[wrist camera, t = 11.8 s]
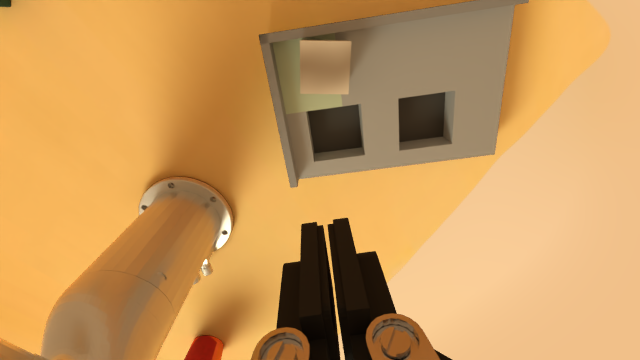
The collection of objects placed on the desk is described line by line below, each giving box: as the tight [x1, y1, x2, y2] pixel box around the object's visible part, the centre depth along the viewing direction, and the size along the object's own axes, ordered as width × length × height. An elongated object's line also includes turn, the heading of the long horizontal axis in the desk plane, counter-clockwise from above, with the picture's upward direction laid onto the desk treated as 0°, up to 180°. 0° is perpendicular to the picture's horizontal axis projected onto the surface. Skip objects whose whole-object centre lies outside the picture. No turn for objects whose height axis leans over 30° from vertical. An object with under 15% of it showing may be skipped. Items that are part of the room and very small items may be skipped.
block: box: [300, 40, 352, 94], centre depth 28 cm, size 4×4×4 cm
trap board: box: [259, 0, 529, 188], centre depth 32 cm, size 16×24×5 cm, turn 98°
